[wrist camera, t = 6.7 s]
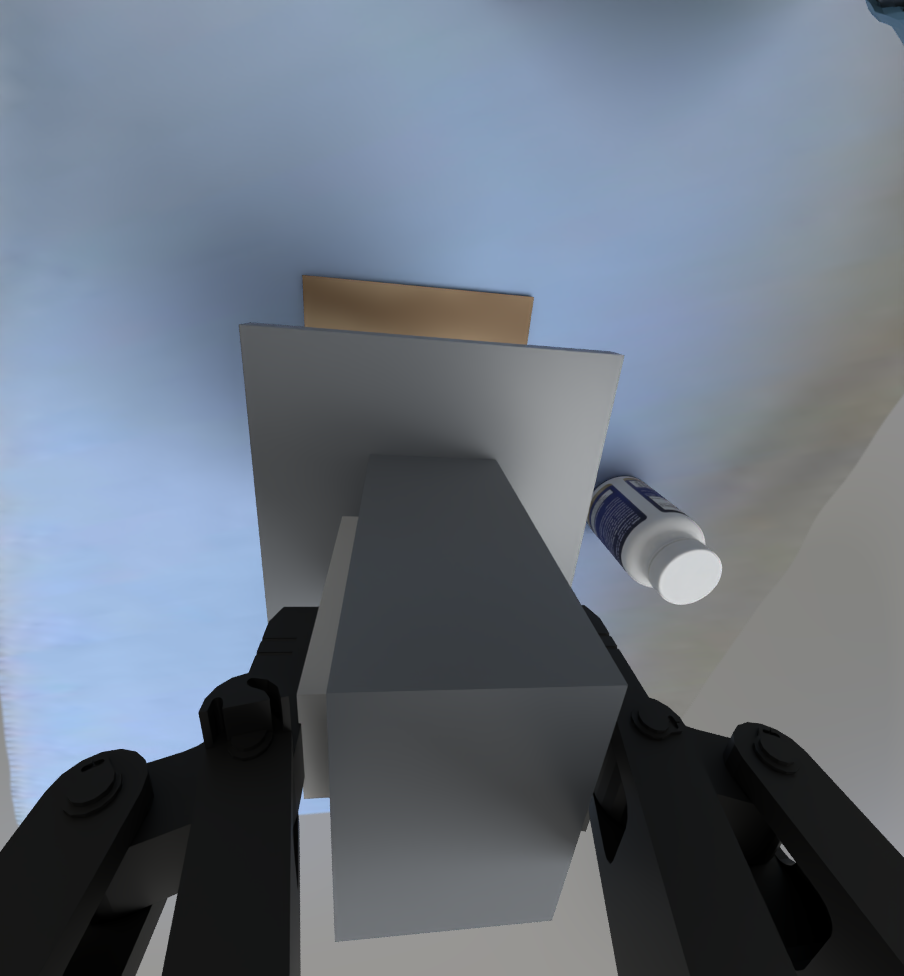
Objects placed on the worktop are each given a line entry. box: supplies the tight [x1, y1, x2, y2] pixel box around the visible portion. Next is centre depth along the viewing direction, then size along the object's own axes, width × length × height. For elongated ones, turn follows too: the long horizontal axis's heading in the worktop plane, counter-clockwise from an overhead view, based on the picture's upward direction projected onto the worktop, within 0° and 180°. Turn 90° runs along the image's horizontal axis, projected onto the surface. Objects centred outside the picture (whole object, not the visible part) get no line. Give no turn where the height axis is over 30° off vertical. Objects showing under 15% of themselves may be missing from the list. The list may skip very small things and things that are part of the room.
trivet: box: [302, 275, 534, 345], centre depth 30 cm, size 16×14×1 cm
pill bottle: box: [587, 476, 722, 605], centre depth 31 cm, size 5×5×10 cm
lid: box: [239, 322, 628, 942], centre depth 11 cm, size 13×11×10 cm
